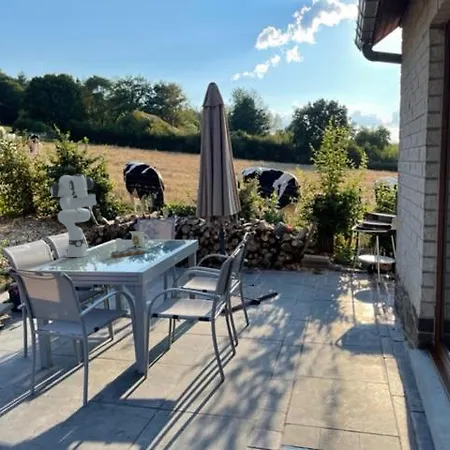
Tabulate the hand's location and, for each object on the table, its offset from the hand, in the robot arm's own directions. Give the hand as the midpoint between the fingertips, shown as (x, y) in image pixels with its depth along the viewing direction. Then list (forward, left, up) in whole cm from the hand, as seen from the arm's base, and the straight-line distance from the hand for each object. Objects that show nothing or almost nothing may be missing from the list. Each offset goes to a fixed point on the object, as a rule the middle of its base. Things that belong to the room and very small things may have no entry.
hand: (84, 212), depth 363 cm
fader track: (+2, +32, -37) cm, 49 cm away
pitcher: (-31, +56, -38) cm, 74 cm away
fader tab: (+2, +25, -35) cm, 43 cm away
